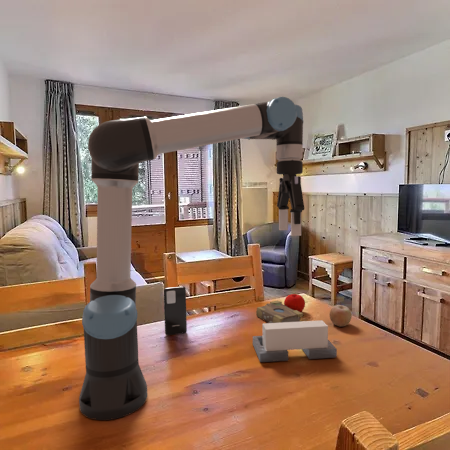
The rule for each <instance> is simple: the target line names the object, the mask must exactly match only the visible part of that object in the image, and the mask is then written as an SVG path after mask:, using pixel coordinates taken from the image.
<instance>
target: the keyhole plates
mask: <svg viewBox="0 0 450 450" xmlns="http://www.w3.org/2000/svg"><path fill="white" fill-rule="evenodd" d="M252 345H253V348H254V350H255V353H256V355H257V357H258V361H259V362H260V363H265V362H266V363H268V362H285V361H287V362H288V361H289V350H278V351H265V348H264V346H263V335H254V336H253V335H252ZM301 350H302V351H303V352H304V354H305V355H306V357H307V358H308V359H309V360H316V359H330V358H332V359H333V358H337V357H338V356H337V352H338V351H337V350H338V349H337V348H336V346H334V344H333V343H332V342H331V341H330V340H329V339H328V347H327V348H310V349H301Z"/></svg>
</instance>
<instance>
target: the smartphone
mask: <svg viewBox="0 0 450 450" xmlns="http://www.w3.org/2000/svg"><path fill="white" fill-rule="evenodd" d="M186 290H187V288H186V286H173V287H172V286H171V287H165V288H164V289H163V309H164V312H163V313H164V314H163V315H164V334H165V335H166V336H172V335H173V336H174V335H180V334H181V335H182V334H186V333H187V332H188V327H187V325H188V322H187V321H188V320H187V293H186V292H187V291H186Z"/></svg>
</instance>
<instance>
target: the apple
mask: <svg viewBox="0 0 450 450" xmlns="http://www.w3.org/2000/svg"><path fill="white" fill-rule="evenodd" d="M283 305H285V306H287V307H288V308H290V309H292V310H297V311H299V312H301V313H303V312H304V310H305V307H306V301H305V298H304V297H303V296H302V295H300V294H297V293H292V294H288V295H287V296H286V297H285V298H284V300H283Z"/></svg>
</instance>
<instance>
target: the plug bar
mask: <svg viewBox="0 0 450 450" xmlns="http://www.w3.org/2000/svg"><path fill="white" fill-rule="evenodd" d="M300 321H301V320H300ZM261 326H262V327H261V328H262V331H261V332H262V336H263V346H264V348H265V351H278V350H287V351H290V350H302V349H310V348H327V347H328V340H329V325H328V324H326V323H325V321H324V320H308V321H307V320H304V321H301V322H282V323H268V322H266V323H262V325H261Z"/></svg>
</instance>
